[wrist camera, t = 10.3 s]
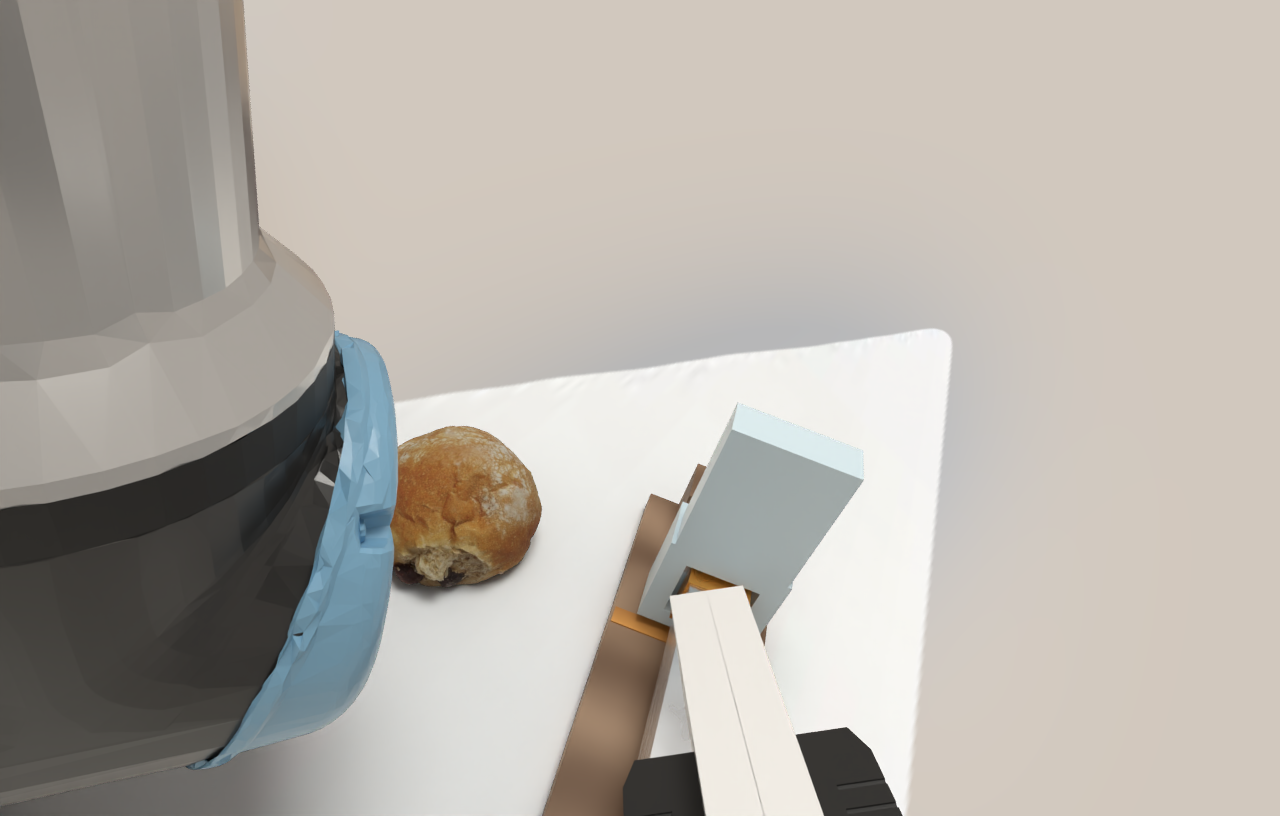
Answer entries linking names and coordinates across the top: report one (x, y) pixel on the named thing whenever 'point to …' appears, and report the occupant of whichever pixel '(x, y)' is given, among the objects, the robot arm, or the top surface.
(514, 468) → the bread roll
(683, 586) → the grey square bar
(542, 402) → the top surface
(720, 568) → the slotted grey-blue plate
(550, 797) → the base board
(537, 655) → the top surface
